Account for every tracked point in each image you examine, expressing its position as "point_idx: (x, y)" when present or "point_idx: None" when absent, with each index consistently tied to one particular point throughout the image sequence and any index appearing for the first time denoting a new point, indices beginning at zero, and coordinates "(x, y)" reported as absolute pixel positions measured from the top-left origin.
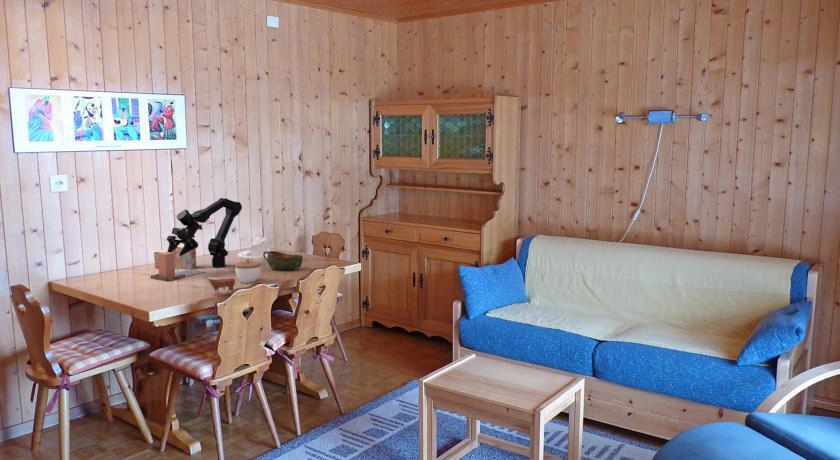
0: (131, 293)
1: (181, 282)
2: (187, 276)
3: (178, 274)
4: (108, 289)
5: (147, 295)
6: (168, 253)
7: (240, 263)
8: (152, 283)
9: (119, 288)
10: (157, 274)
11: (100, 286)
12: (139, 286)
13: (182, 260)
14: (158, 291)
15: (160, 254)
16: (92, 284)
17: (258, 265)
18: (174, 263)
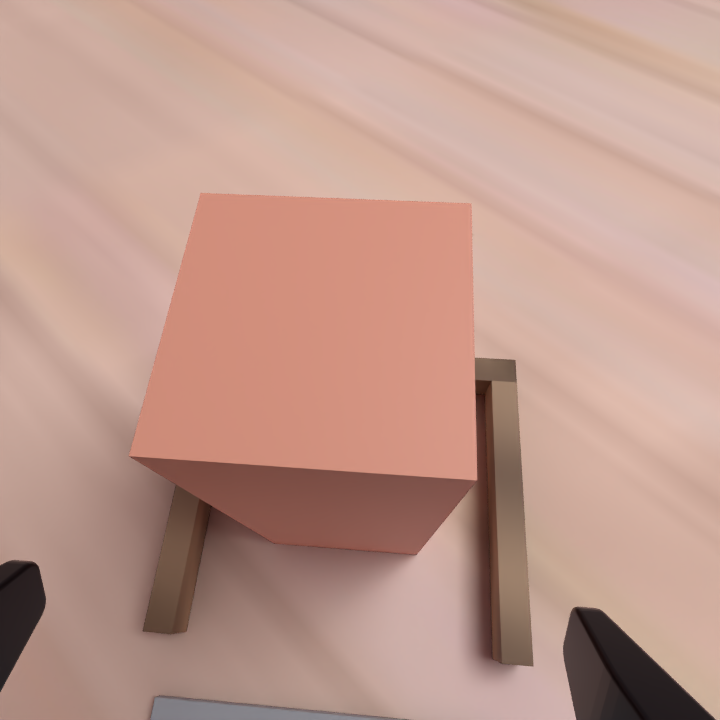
0: (198, 14)
1: (40, 391)
2: (167, 696)
3: (364, 716)
4: (440, 13)
5: (54, 24)
6: (233, 327)
7: None
8: None
9: (397, 51)
10: (500, 443)
11: (580, 33)
12: (312, 135)
13: None
14: (47, 104)
15: (373, 209)
16: (700, 41)
17: None
18: (222, 509)
